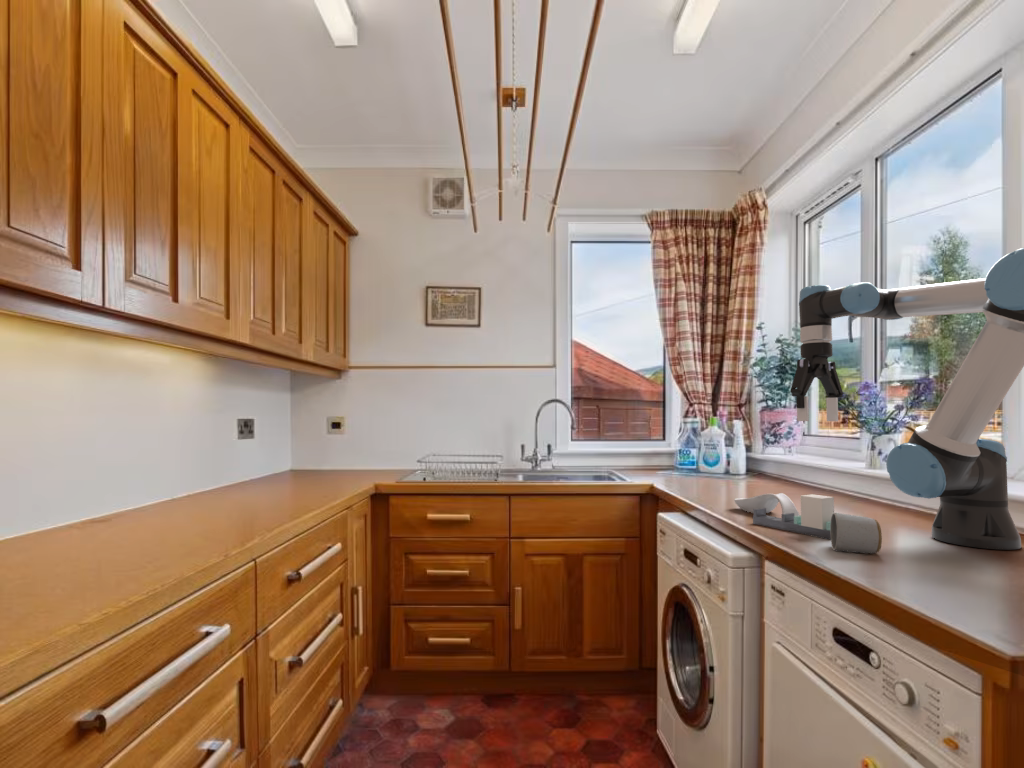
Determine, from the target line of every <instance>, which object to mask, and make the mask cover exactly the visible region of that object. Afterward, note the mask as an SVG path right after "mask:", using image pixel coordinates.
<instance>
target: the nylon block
mask: <svg viewBox="0 0 1024 768" xmlns="http://www.w3.org/2000/svg"><path fill="white" fill-rule="evenodd" d="M834 499H835V498H834V496H829V495H819V494H814V493H813V494H812V493H811V494H804V495H800V515H801V526H807V527H812V528H817V529H827V527H826V522H829V521H831V517H832V515H833V513H835V500H834Z"/></svg>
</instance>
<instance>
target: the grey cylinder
mask: <svg viewBox="0 0 1024 768" xmlns="http://www.w3.org/2000/svg"><path fill="white" fill-rule="evenodd" d="M830 534H831V540H830V544H831V547H832V550H833V551H836V550H837V551H838V552H846V551H848V553H849V552H850V553H858V552H860V553H861V554H868V553H870V554H877V553H879V552H880V550H881V548H882V542H883V541H882V539H883V536H882V527H881V524H880V522H879V521H878V520H877V519H875V518H871V517H868V516H860V515H851V514H845V513H840V512H834V513H833V515H832V517H831V524H830ZM837 551H836V552H837ZM860 553H859V554H860Z"/></svg>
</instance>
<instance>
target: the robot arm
mask: <svg viewBox="0 0 1024 768" xmlns="http://www.w3.org/2000/svg"><path fill="white" fill-rule="evenodd" d="M798 306H799V308H798V309H799V328H800V330H799V331H800V332H799V336H800V343H801V345H800V347H799V348H800V357H801V359H797V361H796V370H795V373H794V377H793V381H792V384H791V386H790V391H789V392H790V394H791V396H792V397H796V399H795V400H796V401H795V402H796V422H809V421H810V417H809V416H810V414H809V413H810V409H809V408H810V407H809V395H807V394H808V391H809V389H810V388H811V386H812V383H813V381H814V380H815V378H817V380H819V381H820V383H821V385H822V386H823V389H824V390H825V393H826V395H827V397H826V398H825V399H826V403H825V404H826V406H825V407H826V422H839V406H838V405H839V404H838V403H839V401H838V400H839V398H842V397H843V396H844V391H843V388H842V386H841V382H840V379H839V376H838V371H837V369H836V368H837V366H836V362H835V361H829V360H828V358H832V356H833V344H832V341H833V333H832V332H833V329H832V326H833V325H832V324H833V323H832V321H833V319H837V318H843V317H849V316H852V317H861V318H872V319H873V318H874V319H882V320H887V321H888V320H889V321H893V320H901V319H903V318H910V317H926V316H927V317H929V316H943V315H958V314H959V315H960V314H961V315H963V314H975V313H983V315H984V316H985V318H986V321H985V322H984V323H985V324H984V325H983V327H982V328H981V330H980V332H979V334H978V335H977V338H976V339H975V341H974V343H973V344H972V346H971V348H970V349H969V351H968V353H967V355H966V357H965V359H964V360H963V362H962V363H961V365H960V367H959V369H958V370H957V372H956V374H955V376H954V378H953V380H952V381H951V383H950V385H949V387H948V388H947V390H946V392H945V393H944V395H943V396H942V398H941V400H940V402H939V403H938V405H937V407H936V410H935V411H934V413H933V414H932V416H931V418H930V420H929V421H928V423H927V424H924V425H920V426H917V427H915V429H914V431H913V432H912V434H911V436H910V438H909V440H908V441H907V442H903V443H900V444H898V445H896V446H894V447H893V448H892V449H891V450H890V451H889V453H888V455H887V457H886V472H887V473H888V475H889V479H890V481H891V482H892V483H893V485H894V486H895V487H896V488H897V489H899V491H900V492H902V493H904V494H906V495H908V496H911V497H914V498H923V499H928V500H929V499H936V498H939V507H938V509H937V512H936V515H935V516H934V517H935V518H934V520H933V523H932V525H931V537H932V539H934V538H935V540H937V541H941V542H944V543H948V544H953V545H957V546H963V547H969V548H978V549H988V550H989V549H990V550H1009V551H1011V550H1013V551H1014V550H1019V549H1021V548H1022V539H1021V535H1020V533H1019V531H1018V528H1017V526H1016V524H1015V522H1014V519H1013V518H1012V516H1011V513H1010V510H1009V502H1008V501H1009V495H1008V493H1009V492H1008V476H1007V475H1008V472H1007V470H1008V469H1007V463H1008V457H1007V455H1006V448H1005V446H1004V444H1003V443H1001V442H999V441H997V440H991V439H984V438H980V437H981V436H982V433H983V432H984V431H985V429H986V427H987V426H988V425H989V423H990V421H991V419H992V418H993V416H994V414H995V413H996V411H997V410H998V409H999V407H1000V405H1001V403H1002V402H1003V401H1004V399H1005V397H1006V395H1007V394H1008V392H1009V391H1010V389H1011V387H1012V386H1013V385H1014V382H1015V381H1016V379H1017V378H1018V376H1019V375H1020V373H1021V371H1022V370H1023V368H1024V247H1023V248H1019V249H1016V250H1014V251H1011V252H1009V253H1007V254H1006V255H1004V256H1003V257H1001V258H1000V259H998V261H996V262H995V263H994V264H993V265H992V266H991V268H990V269H989V271H987V274H986V276H985V277H983V278H976V279H967V280H966V279H965V280H960V281H959V280H958V281H950V282H949V281H948V282H940V283H932V284H924V285H915V286H907V287H898V288H891V289H890V288H889V289H888V288H887V289H884V288H883V289H882V288H877V287H876V286H875V285H874V284H873V283H871V282H868V281H865V282H864V281H863V282H855V283H852V284H849V285H846V286H841V287H838V288H834V289H831V287H830V285H826V284H815V285H814V284H813V285H808V286H805V287H803V288H801V290H800V291H799V300H798Z"/></svg>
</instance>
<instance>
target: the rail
mask: <svg viewBox="0 0 1024 768" xmlns="http://www.w3.org/2000/svg"><path fill="white" fill-rule="evenodd" d="M753 511H754V513H753V515H752V525H757V526H762V527H766V528H772V529H778V530H781V531H786V532H787V531H788V532H792V533H797V534H801V533H802V535H806V534H807V536H811V535H812V537H816V536H817V537H816V538H821V537H822V538H821V539H825V538H827V539H826V540H830V539H831V534H830V524H831V521H829V522H826V527H827V529H817V528H812V527H807V526H801V514H799V516H794V513H785V514H782V513H781V517H777V516H771V515H767V514H766V508H758V509H753Z"/></svg>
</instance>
